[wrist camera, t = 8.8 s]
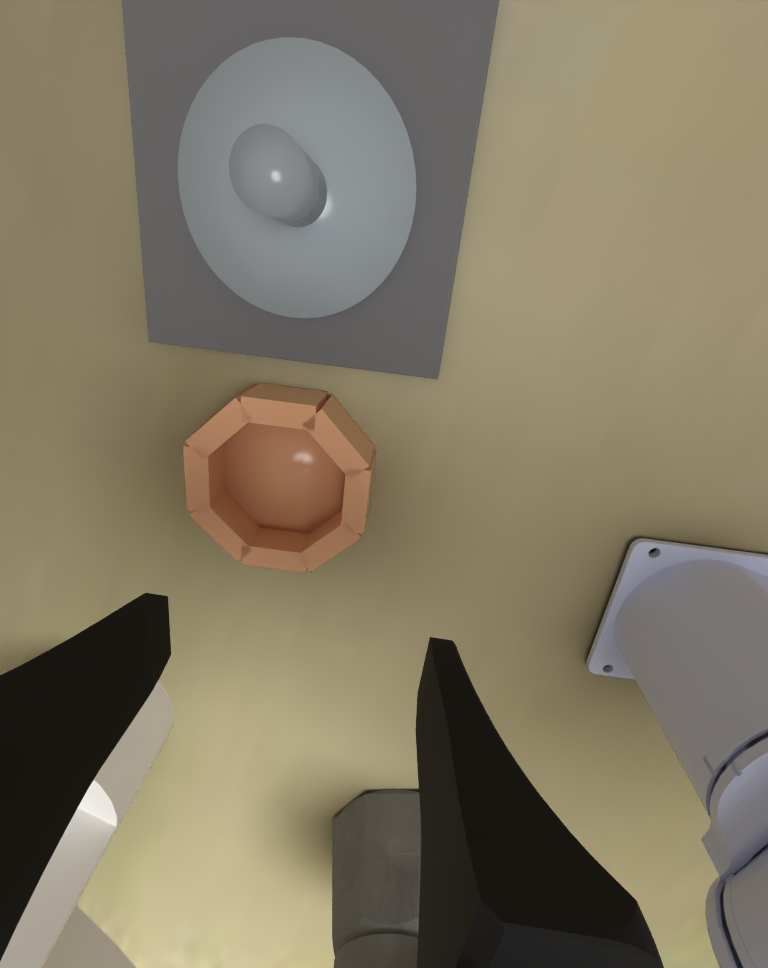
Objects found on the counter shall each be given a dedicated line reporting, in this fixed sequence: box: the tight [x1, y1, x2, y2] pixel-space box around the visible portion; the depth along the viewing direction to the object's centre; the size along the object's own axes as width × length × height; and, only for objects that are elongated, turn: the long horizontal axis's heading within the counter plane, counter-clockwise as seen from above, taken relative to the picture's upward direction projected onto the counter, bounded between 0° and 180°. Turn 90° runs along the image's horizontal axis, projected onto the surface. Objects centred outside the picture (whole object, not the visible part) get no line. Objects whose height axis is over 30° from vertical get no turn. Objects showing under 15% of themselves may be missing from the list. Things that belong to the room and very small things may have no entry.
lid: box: [178, 37, 416, 318], centre depth 15 cm, size 8×8×4 cm
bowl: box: [183, 383, 376, 573], centre depth 21 cm, size 8×8×2 cm
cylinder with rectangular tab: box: [0, 682, 174, 968], centre depth 23 cm, size 9×9×12 cm
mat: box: [122, 0, 499, 379], centre depth 17 cm, size 12×12×1 cm
